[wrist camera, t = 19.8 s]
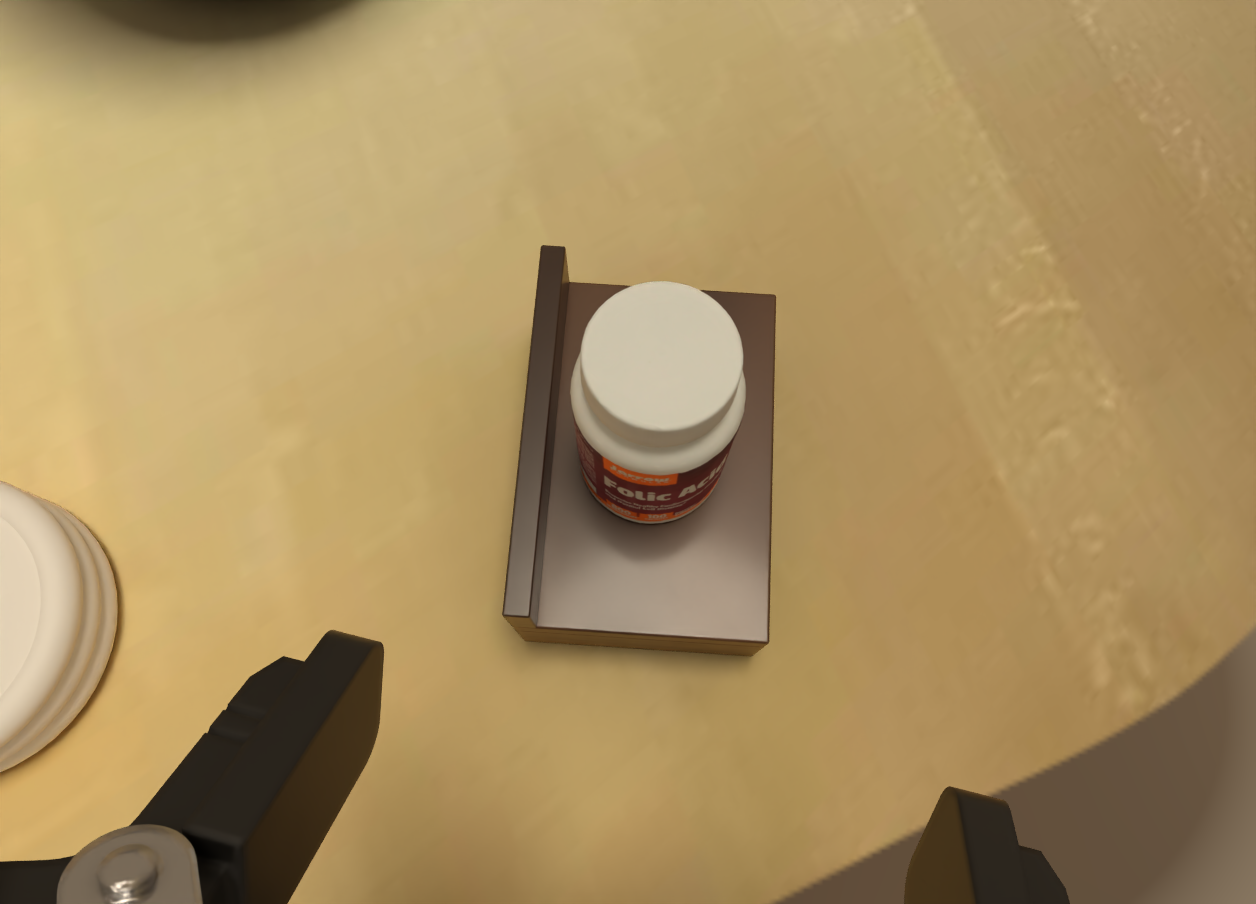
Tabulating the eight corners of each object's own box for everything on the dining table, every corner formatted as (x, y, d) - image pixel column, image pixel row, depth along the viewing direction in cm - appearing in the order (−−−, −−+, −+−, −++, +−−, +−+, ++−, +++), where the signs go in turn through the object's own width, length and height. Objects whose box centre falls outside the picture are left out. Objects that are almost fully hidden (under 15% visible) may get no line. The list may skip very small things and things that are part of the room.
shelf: (760, 341, 37) (788, 259, 30) (752, 656, 33) (782, 634, 27) (554, 328, 37) (540, 244, 31) (524, 641, 33) (501, 616, 27)
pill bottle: (599, 543, 30) (590, 468, 22) (564, 407, 31) (543, 290, 23) (742, 506, 30) (784, 419, 22) (701, 373, 32) (727, 247, 24)
